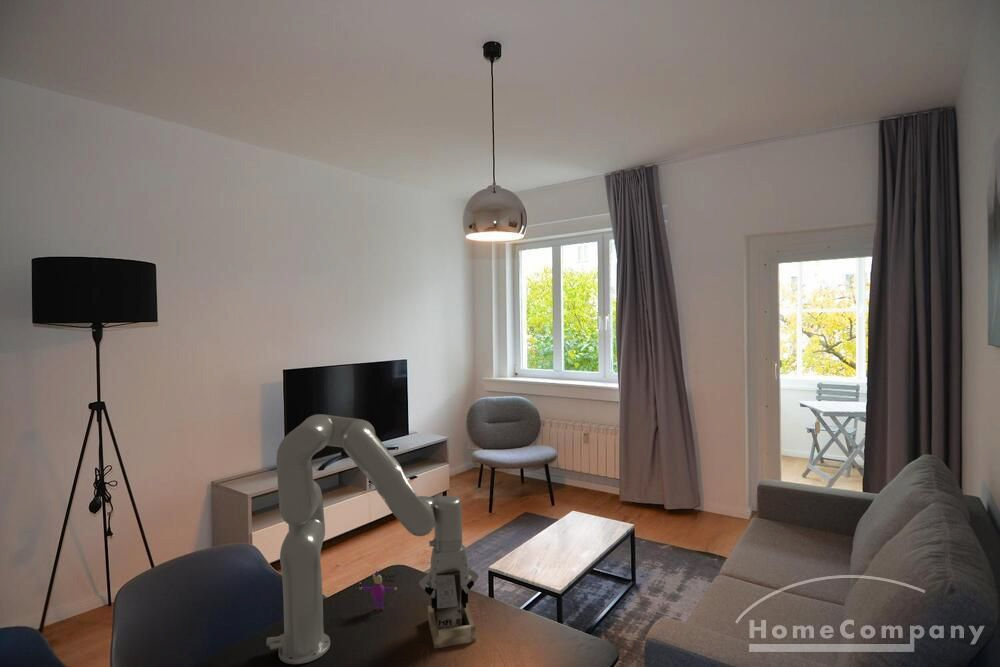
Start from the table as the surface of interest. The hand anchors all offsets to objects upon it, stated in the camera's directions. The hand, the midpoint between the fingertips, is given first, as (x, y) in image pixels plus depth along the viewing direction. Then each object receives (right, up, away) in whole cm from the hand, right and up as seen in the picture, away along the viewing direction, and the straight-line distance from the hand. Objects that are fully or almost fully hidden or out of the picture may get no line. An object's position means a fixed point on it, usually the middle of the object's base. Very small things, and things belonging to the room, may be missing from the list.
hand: (449, 607), depth 146 cm
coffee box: (0, -5, 0) cm, 5 cm away
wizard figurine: (-22, -7, +11) cm, 26 cm away
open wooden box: (0, -6, 0) cm, 6 cm away
